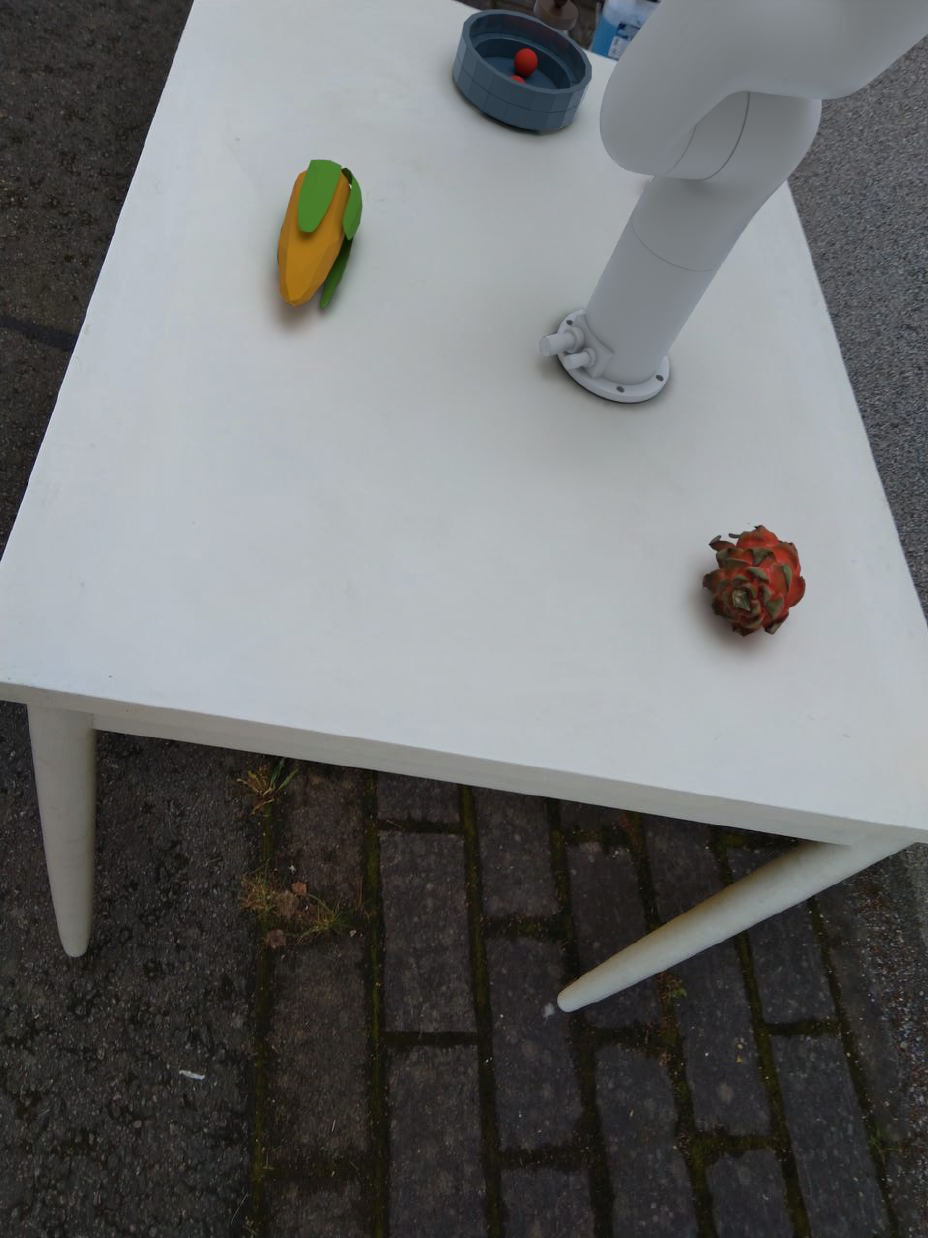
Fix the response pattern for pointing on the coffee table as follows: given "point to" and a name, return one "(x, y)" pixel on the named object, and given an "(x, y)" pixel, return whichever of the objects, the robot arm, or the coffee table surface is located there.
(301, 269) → the corn
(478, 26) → the bowl
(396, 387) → the coffee table surface
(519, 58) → the tomato
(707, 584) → the dragon fruit
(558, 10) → the brown disc-base rod
